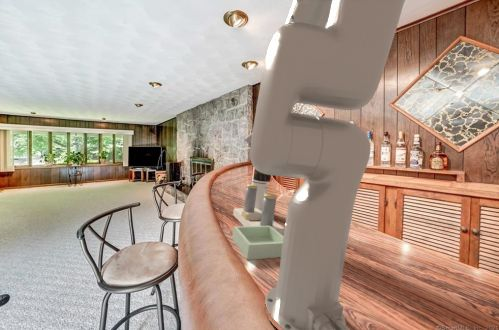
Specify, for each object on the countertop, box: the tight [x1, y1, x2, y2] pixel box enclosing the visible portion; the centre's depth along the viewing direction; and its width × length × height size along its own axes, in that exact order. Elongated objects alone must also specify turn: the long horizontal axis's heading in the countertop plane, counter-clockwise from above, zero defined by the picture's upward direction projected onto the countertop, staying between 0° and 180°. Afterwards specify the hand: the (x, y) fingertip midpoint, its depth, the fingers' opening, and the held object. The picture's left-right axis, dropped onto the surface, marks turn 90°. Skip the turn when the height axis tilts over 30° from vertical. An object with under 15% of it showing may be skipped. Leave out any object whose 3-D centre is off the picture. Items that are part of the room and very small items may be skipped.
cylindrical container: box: [251, 167, 270, 211], centre depth 91 cm, size 7×7×25 cm
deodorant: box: [252, 167, 272, 183], centre depth 74 cm, size 6×6×15 cm
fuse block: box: [232, 183, 285, 236], centre depth 75 cm, size 21×10×12 cm, turn 22°
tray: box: [231, 225, 284, 261], centre depth 58 cm, size 12×12×4 cm
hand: (263, 163), depth 74 cm, fingers closed on deodorant, 5 cm apart
